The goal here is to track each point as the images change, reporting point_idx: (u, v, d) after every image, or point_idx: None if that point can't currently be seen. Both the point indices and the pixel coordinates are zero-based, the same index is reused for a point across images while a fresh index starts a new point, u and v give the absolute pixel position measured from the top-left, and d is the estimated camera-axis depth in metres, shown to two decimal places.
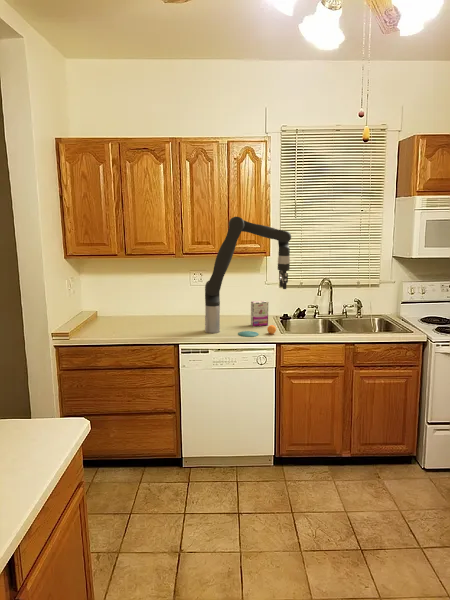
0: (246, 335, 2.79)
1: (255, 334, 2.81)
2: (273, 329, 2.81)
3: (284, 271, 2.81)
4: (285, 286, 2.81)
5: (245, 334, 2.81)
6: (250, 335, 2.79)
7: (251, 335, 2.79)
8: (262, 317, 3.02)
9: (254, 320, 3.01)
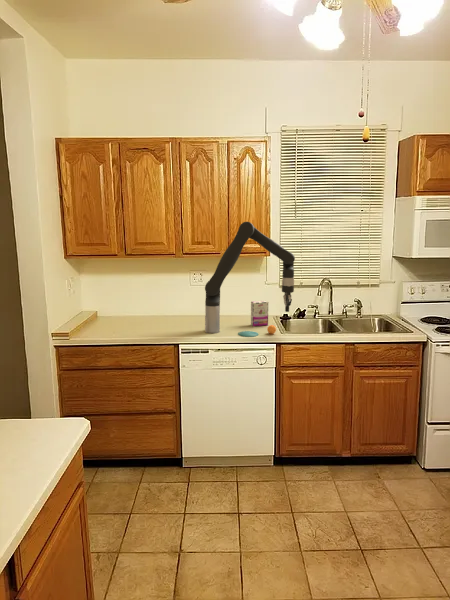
0: (246, 335, 2.79)
1: (255, 334, 2.81)
2: (273, 329, 2.81)
3: (288, 293, 2.76)
4: (288, 309, 2.81)
5: (245, 334, 2.81)
6: (250, 335, 2.79)
7: (251, 335, 2.79)
8: (262, 317, 3.02)
9: (254, 320, 3.01)
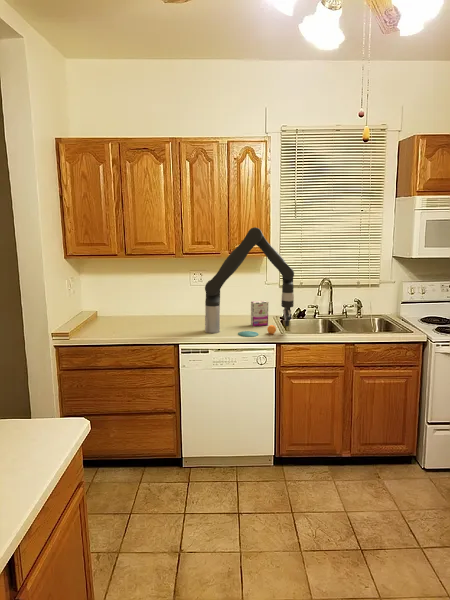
0: (246, 335, 2.79)
1: (255, 334, 2.81)
2: (273, 329, 2.81)
3: (288, 308, 2.78)
4: (287, 323, 2.82)
5: (245, 334, 2.81)
6: (250, 335, 2.79)
7: (251, 335, 2.79)
8: (262, 317, 3.02)
9: (254, 320, 3.01)
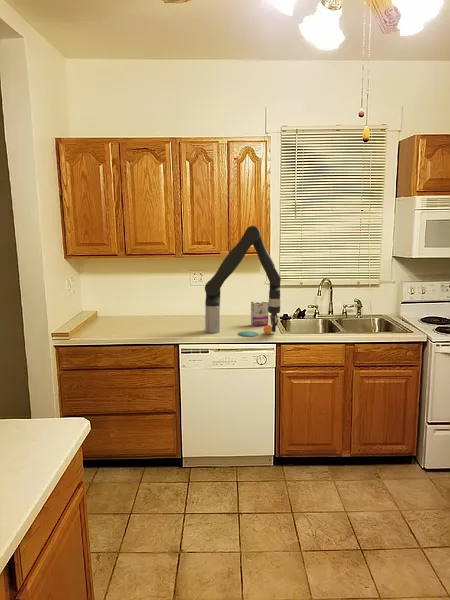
0: (246, 335, 2.79)
1: (255, 334, 2.81)
2: (268, 329, 2.81)
3: (275, 314, 2.78)
4: (274, 329, 2.83)
5: (245, 334, 2.81)
6: (250, 335, 2.79)
7: (251, 335, 2.79)
8: (262, 317, 3.02)
9: (254, 320, 3.01)
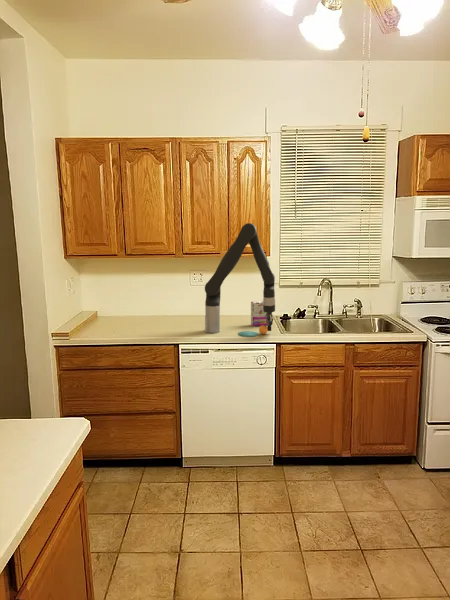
0: (246, 335, 2.79)
1: (255, 334, 2.81)
2: (263, 330, 2.80)
3: (269, 313, 2.77)
4: (270, 328, 2.82)
5: (245, 334, 2.81)
6: (250, 335, 2.79)
7: (251, 335, 2.79)
8: (262, 317, 3.02)
9: (254, 320, 3.01)
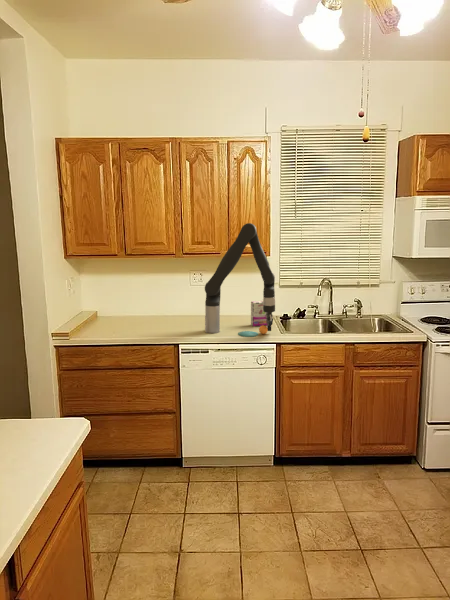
0: (246, 335, 2.79)
1: (255, 334, 2.81)
2: (263, 330, 2.80)
3: (269, 313, 2.77)
4: (270, 328, 2.82)
5: (245, 334, 2.81)
6: (250, 335, 2.79)
7: (251, 335, 2.79)
8: (262, 317, 3.02)
9: (254, 320, 3.01)
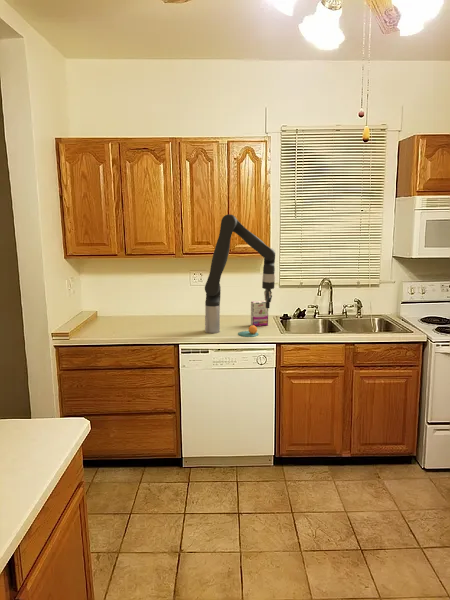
0: (246, 335, 2.79)
1: (255, 334, 2.81)
2: (253, 331, 2.80)
3: (268, 289, 2.75)
4: (268, 305, 2.79)
5: (245, 334, 2.81)
6: (250, 335, 2.79)
7: (251, 335, 2.79)
8: (262, 317, 3.02)
9: (254, 320, 3.01)
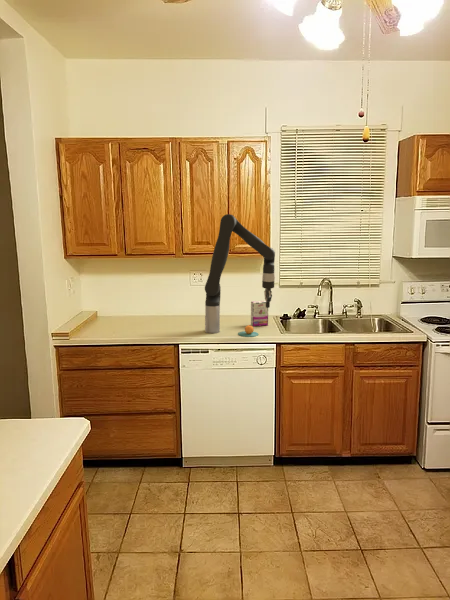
0: (246, 335, 2.79)
1: (255, 334, 2.81)
2: (250, 331, 2.80)
3: (268, 289, 2.75)
4: (268, 305, 2.79)
5: (245, 334, 2.81)
6: (250, 335, 2.79)
7: (251, 335, 2.79)
8: (262, 317, 3.02)
9: (254, 320, 3.01)
